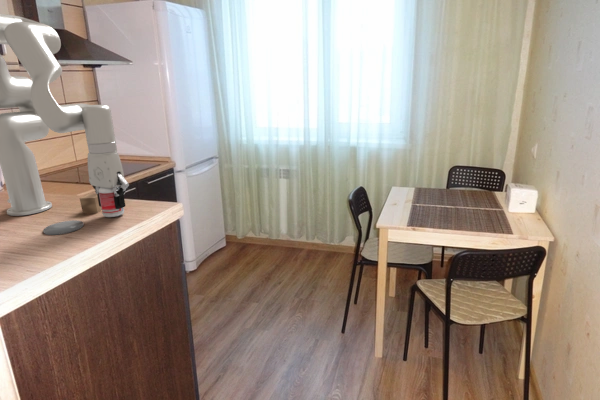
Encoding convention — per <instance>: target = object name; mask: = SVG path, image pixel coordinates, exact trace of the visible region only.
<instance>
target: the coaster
mask: <svg viewBox="0 0 600 400" xmlns="http://www.w3.org/2000/svg"><path fill="white" fill-rule="evenodd" d="M84 226H85V225H84V222H83V221H81V220H73V219H72V220H65V221H64V220H63V221H60V222H59V221H58V222H55V223H52V224H50V225H47V226H46V227H44V228H43V230H42V232H43V234H44V235H46V236H59V235H65V234H69V233H73V232H75V231H79V230H80V229H81V228H83V227H84Z"/></svg>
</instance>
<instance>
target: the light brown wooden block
mask: <svg viewBox="0 0 600 400" xmlns="http://www.w3.org/2000/svg"><path fill="white" fill-rule="evenodd" d="M79 202H80V206H81V211H82V214H98V213H100V212H102V211H101V210H102V208H101V206H99V202H98V196H97V194H96V193H87V194H86V195H83V196H82V197H80V198H79Z"/></svg>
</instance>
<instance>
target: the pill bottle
mask: <svg viewBox="0 0 600 400" xmlns="http://www.w3.org/2000/svg"><path fill="white" fill-rule="evenodd" d="M116 189H117V191H118V190H119V188H118V187H117V188H116ZM114 196H115V194H114V192H113V190H112V188H103V187H100V188H99V197H100V203H101V208H102V211H101V213H102V216H103V217H105V218H114V217H119V216H122V215H124V213H125V207H123V208H120V209H116V208H115V202H114Z"/></svg>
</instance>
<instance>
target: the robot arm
mask: <svg viewBox="0 0 600 400" xmlns="http://www.w3.org/2000/svg"><path fill="white" fill-rule="evenodd" d="M0 45H7V46H9V47H10V49H11V50H12V52H13V53H14V55H15V56H16V57H17V58H16V59H18V60H19V63H20V64H21V65H22V66H23V68H24V69H25V71H26V72H27V74H28V76H29V77H30V78H29V77H27V76H22V75H20V76H19V75H13V76H12V75H11V72H10V71H9V68H8V64H7V62H6V60H5V57H3V56H2V54H1V53H0V109H13V108H18V109H19V111H13V112H12V111H11V112H3V113H0V169H1V172H2V173H1V174H2V177H3V181H4V184H5V187H6V191H7V195H8V199H7V203H9V204H10V208H8V209H7V210H6V214H7V215H8V216H12V217H13V216H14V217H15V216H16V217H18V216H19V217H20V216H28V215H34V214H38V213H42V212H45V211H47V210H49V209H51V208H52V207H53V204H52V202H51V201H49V200H46V198H45V193H44V189H43V185H42V180H41V176H40V173H39V169H38V163H37V162H36V161H37V160H36V156H35V154H34V152H33V150H32V149H31V148H30V147H28V145H27V144H26V143H27V142H31V141H37V140H41V139H44V138H46V137H47V136H48V135H49V133H50V130H51V131H53V132H55V133H58V134H65V133H67V134H68V133H70V132H71V133H72V132H76V131H84V133H85V138H86V143H87V144H86V145H87V148H88V149H87V150H88V153H87V172H88V173H87V174H88V182H89V184H90V185H91V186H92V187H93V189H94V192H95V193H94V194H97V196H98V202H99V206H101V203H100V197H99V188H100V187H103V188H112V190H113V192H114V194H115V196H114V202H115V208H116V209H120V208H123V207H124V208H125V207H126V201H125V194H126V191H127V189H128V187H129V186H130V184H129V183H128V181H127V180H126V179H125V174H124V167H123V165H122V160H121V158H120V154H119V152H118V148H117V142H116V135H115V127H114V123H113V116H112V110H111V108H110V107H109V105H105V104H88V103H72V104H71V103H70V104H62V105H61V104H60V105H59V103H58V102H57V101H56V99H55V98H54V96H53V95H52V93H51V90H50V84H51V83H53V82H55V81H56V80H57V79H59V78H60V77H61V75H62V73H63V68H62V65H61V64H60V63H59V62H58V60H57V58H56V57H55V54H57V53H58V52H59V51H60V49H61V46H62V43H61V39H60V36H59V34H58V32H57V31H56V30H55V29H54V28H53V27H51V26H50V25H47V24H45V23H42V22H38V21H36V20H33V19H29V18H26V17H22V16H19V15H13V14H5V13H0ZM117 187H118V188H119V190H118V191H117V189H116V188H117Z"/></svg>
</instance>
